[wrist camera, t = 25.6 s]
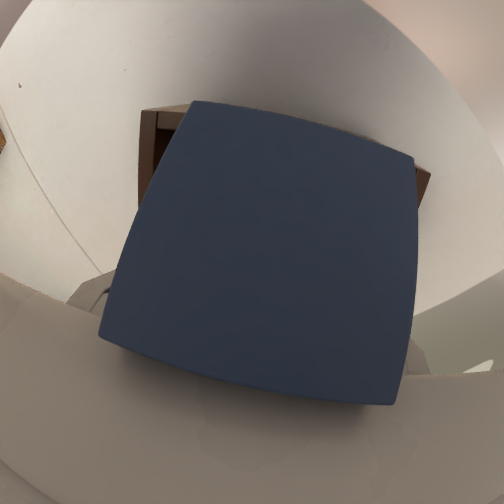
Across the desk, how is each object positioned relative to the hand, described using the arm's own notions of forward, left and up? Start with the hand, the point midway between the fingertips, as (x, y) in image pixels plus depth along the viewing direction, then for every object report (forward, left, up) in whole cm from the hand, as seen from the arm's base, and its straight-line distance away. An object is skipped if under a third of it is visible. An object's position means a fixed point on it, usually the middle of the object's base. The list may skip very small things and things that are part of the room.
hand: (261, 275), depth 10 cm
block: (-1, 0, +1) cm, 1 cm away
